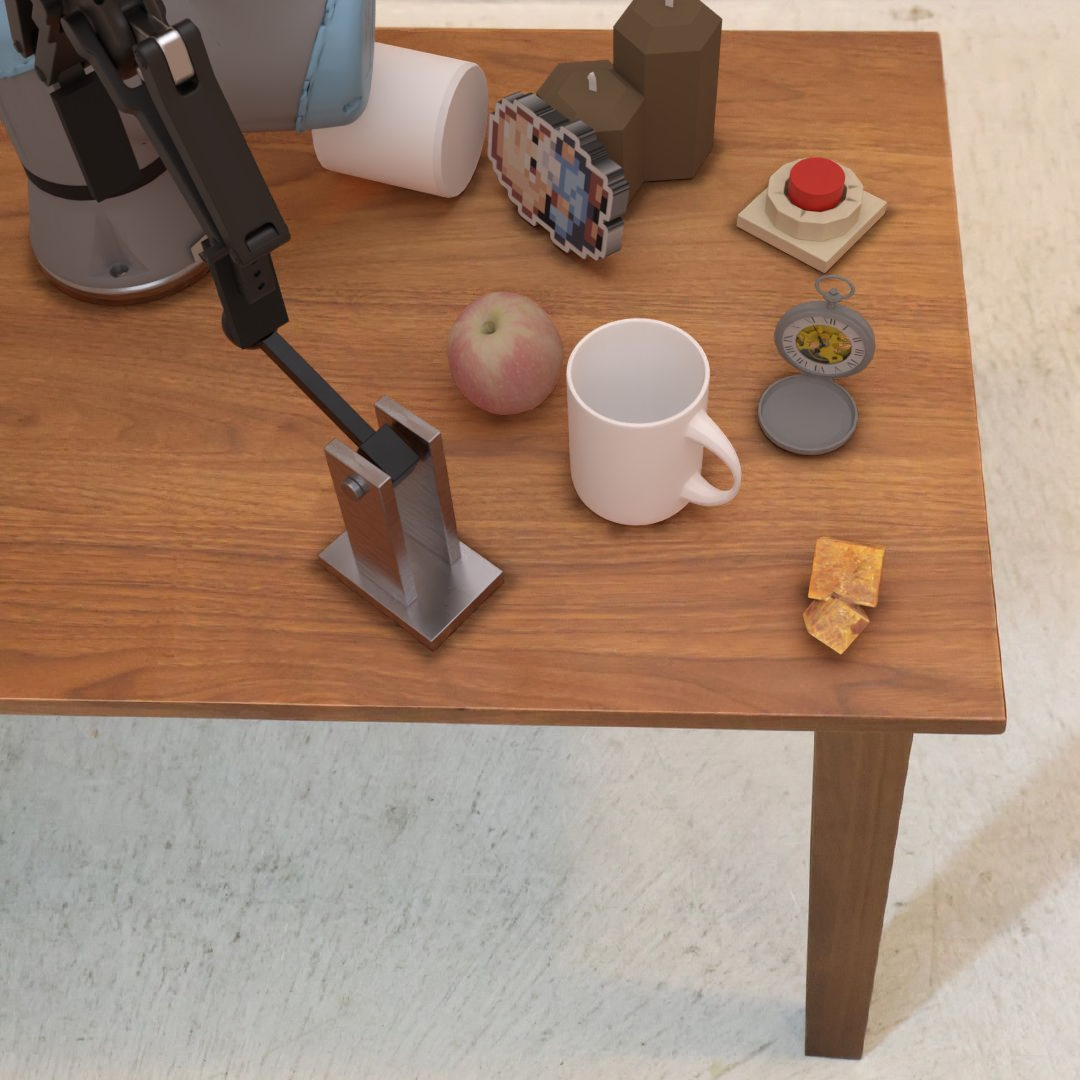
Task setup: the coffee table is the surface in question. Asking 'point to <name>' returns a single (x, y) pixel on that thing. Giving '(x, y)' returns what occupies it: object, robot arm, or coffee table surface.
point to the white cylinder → (413, 124)
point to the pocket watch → (816, 374)
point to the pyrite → (842, 589)
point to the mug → (642, 423)
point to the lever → (338, 409)
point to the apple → (505, 353)
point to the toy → (558, 175)
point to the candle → (648, 90)
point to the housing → (811, 220)
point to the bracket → (405, 535)
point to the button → (816, 184)
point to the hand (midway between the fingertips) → (186, 256)
